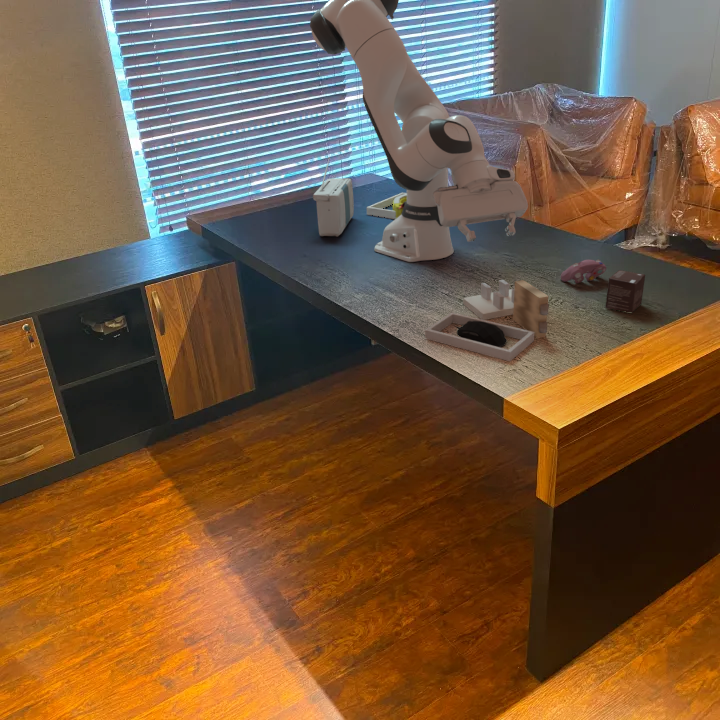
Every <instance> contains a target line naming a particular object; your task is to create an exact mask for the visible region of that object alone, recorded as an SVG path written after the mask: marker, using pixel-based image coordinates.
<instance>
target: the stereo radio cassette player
mask: <svg viewBox="0 0 720 720" xmlns="http://www.w3.org/2000/svg"><path fill="white" fill-rule="evenodd" d="M327 158H328V161H327V163H326V167H325V171H324V175H323V179H322V184H321V186H319V188H318V189H317V190H316V191H315V192H314V193H313V194H312V195H313V196H312V199H313V201H316V202H315V203H316V213H317V214H316V215H317V226H318V233H319V236H320V237H336V238H337V237H339V236H340V235H342V233H343V232H344V230H345V229H346V227H347V226H348V225H349V222H350V221H351V219H352V217H353V216H354V212H355V210H354V207H355V206H354V204H355V203H354V190H353V182H352V179H351V178H347V177H346V178H345V177H344V178H338V177H337V178H327V179H326V176H327V172H328V167H329V163H330V159H331V156H330V157H327Z"/></svg>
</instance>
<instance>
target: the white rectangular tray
mask: <svg viewBox="0 0 720 720" xmlns="http://www.w3.org/2000/svg"><path fill="white" fill-rule="evenodd" d="M403 194H407V192H400V193H399V194H398V193H397V194H396V195H393V196H390V197H388V198H386V199H383V200H380V201H378V202H376V203H373V204H372V205H369V206H366V215H367V216H372V215H373V216H372V217H378V216H379V217H378V218H384V217H385V219H392V220H395V219H396V212H395V211H393V209H386V208H385V207H387V208H388V206H389V207H391V206H393V205H392V204H393V201H394V199H395V198H396V197H398V196H400V195H403ZM390 205H391V206H390ZM383 208H384V209H383Z"/></svg>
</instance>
